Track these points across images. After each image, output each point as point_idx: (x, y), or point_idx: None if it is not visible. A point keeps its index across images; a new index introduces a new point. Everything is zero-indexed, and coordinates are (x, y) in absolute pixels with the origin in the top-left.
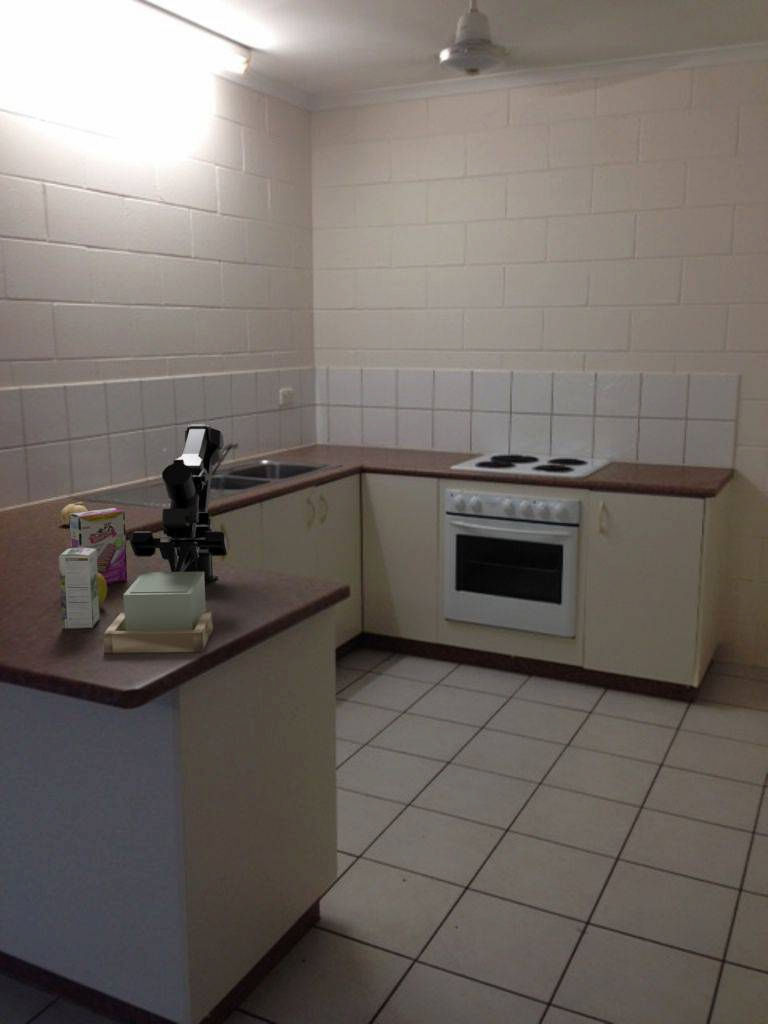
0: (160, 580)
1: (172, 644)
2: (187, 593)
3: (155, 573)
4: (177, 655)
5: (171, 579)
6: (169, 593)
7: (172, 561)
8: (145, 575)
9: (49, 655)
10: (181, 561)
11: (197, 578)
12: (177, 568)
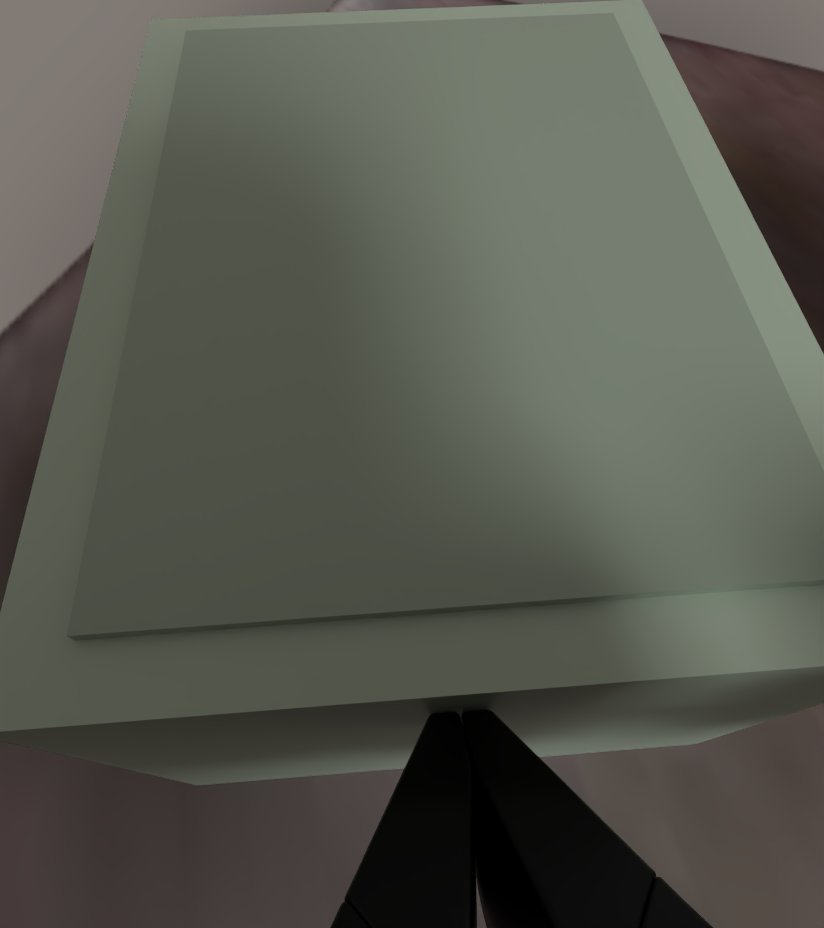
0: (498, 256)
1: None
2: (176, 23)
3: (706, 528)
4: None
5: (387, 289)
6: (313, 23)
7: (595, 898)
8: (789, 434)
9: (809, 153)
10: (377, 921)
11: (92, 370)
12: (444, 794)
